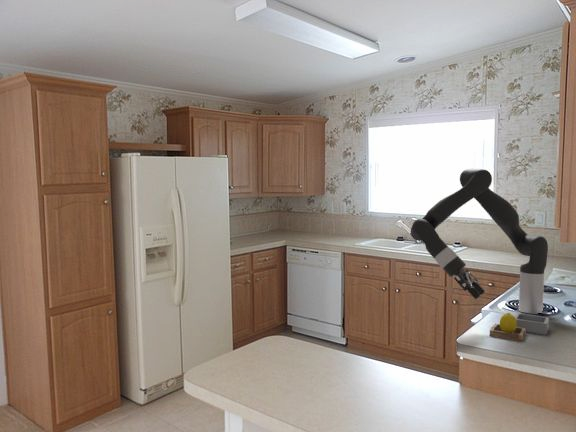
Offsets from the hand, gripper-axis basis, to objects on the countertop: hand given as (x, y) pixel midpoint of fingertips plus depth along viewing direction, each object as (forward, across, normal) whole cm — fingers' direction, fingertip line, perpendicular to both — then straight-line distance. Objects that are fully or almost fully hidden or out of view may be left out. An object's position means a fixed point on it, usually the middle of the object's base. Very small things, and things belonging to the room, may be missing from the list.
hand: (480, 295), depth 169 cm
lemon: (+16, 0, +3) cm, 16 cm away
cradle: (+16, 0, +2) cm, 16 cm away
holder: (+20, +14, -2) cm, 25 cm away
